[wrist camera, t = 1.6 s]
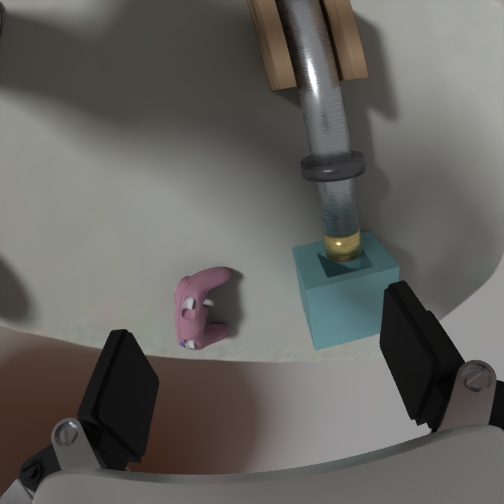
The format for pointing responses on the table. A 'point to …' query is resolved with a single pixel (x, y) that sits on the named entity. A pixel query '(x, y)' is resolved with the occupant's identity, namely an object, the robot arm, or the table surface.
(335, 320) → the socket block
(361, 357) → the table surface
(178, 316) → the video game controller
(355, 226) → the rod
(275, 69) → the wooden cradle block
